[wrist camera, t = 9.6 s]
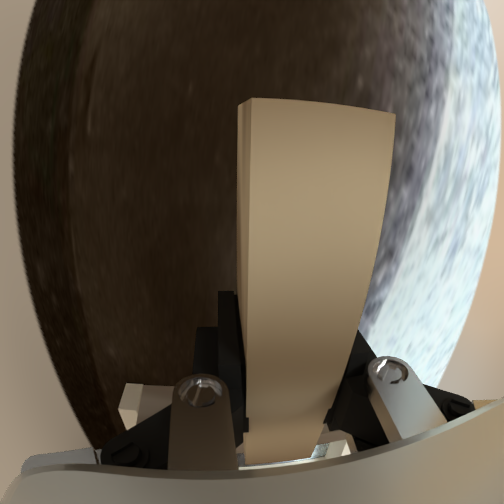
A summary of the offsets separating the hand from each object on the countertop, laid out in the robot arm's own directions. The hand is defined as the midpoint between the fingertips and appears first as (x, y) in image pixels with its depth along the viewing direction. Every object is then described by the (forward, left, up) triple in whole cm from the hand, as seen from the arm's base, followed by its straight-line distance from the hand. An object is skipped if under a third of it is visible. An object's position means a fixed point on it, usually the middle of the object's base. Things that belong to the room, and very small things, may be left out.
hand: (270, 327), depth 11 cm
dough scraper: (-1, -2, 0) cm, 2 cm away
